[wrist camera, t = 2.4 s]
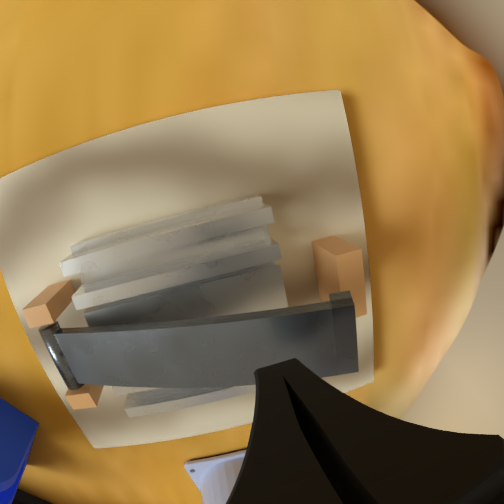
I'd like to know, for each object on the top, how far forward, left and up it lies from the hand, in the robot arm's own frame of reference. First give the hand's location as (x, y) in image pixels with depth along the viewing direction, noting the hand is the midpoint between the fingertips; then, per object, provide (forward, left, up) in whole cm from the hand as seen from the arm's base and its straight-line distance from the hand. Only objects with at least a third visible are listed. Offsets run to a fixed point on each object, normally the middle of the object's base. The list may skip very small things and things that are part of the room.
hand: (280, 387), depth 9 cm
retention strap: (0, +3, -5) cm, 6 cm away
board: (0, +3, -10) cm, 10 cm away
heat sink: (0, +3, -9) cm, 9 cm away
